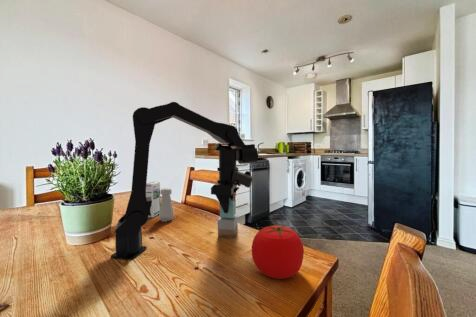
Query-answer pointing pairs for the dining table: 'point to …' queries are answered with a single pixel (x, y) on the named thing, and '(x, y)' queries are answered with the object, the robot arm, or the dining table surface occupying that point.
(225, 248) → the dining table surface
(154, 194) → the syrup box
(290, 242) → the tomato
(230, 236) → the tower lower
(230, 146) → the robot arm
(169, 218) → the salt shaker
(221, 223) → the tower upper
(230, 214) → the teal block
